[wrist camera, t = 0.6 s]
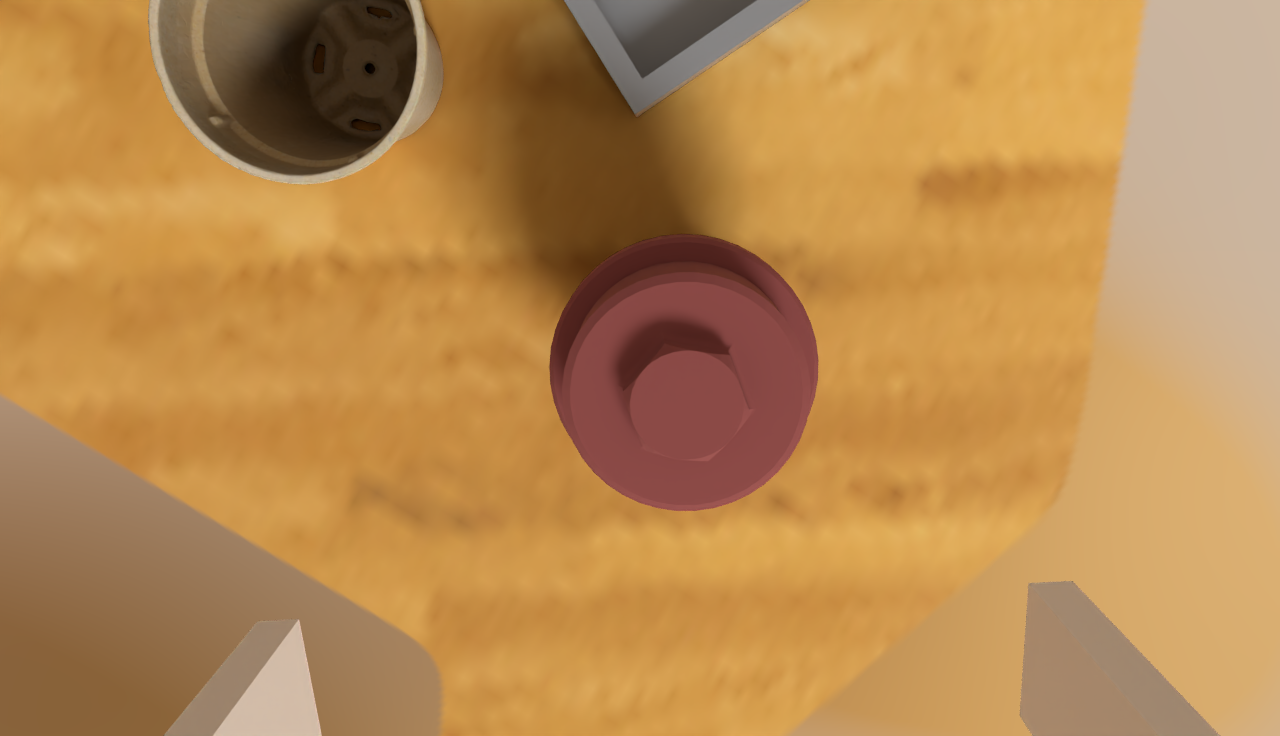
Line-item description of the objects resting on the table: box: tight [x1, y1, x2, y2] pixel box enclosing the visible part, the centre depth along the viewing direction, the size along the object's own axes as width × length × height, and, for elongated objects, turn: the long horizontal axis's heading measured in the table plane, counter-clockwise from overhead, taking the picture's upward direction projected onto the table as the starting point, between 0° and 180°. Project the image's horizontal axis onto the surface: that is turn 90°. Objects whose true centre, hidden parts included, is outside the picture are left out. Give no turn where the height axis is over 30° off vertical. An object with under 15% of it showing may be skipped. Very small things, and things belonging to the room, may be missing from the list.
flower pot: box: [148, 0, 443, 184], centre depth 32 cm, size 9×9×9 cm
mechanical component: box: [550, 234, 818, 511], centre depth 33 cm, size 12×10×10 cm
